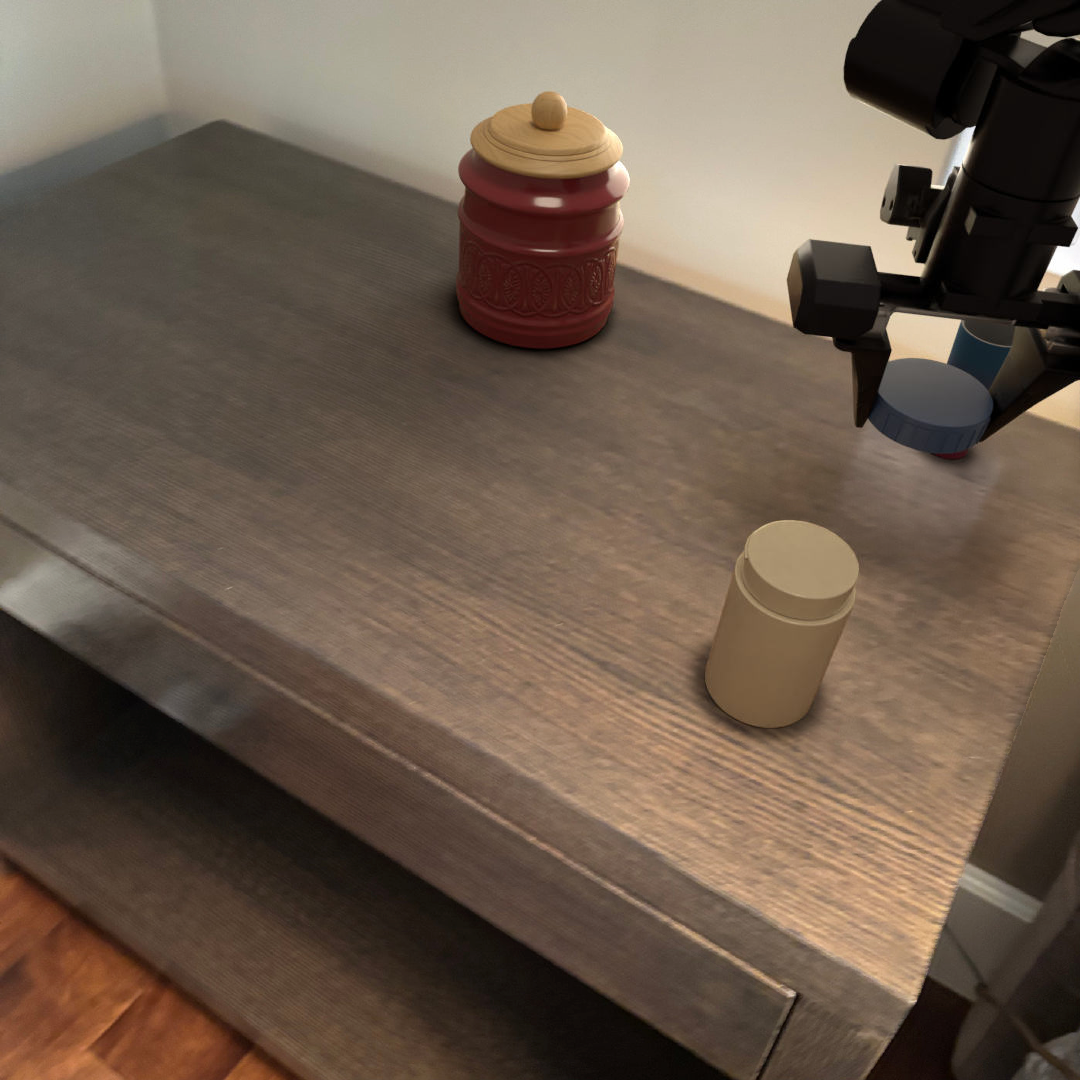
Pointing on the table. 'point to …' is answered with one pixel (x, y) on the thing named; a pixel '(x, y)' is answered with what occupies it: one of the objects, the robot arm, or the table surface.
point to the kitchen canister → (540, 224)
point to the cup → (980, 354)
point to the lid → (931, 406)
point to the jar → (781, 622)
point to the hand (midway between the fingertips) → (917, 430)
